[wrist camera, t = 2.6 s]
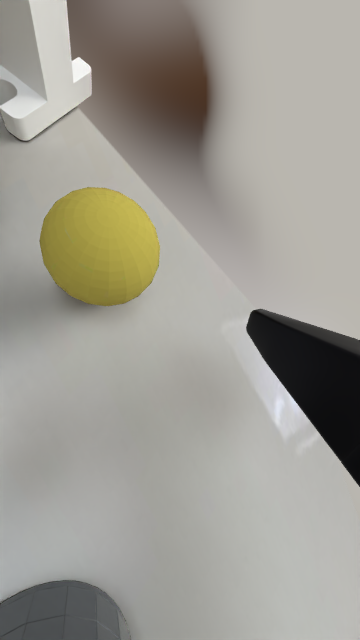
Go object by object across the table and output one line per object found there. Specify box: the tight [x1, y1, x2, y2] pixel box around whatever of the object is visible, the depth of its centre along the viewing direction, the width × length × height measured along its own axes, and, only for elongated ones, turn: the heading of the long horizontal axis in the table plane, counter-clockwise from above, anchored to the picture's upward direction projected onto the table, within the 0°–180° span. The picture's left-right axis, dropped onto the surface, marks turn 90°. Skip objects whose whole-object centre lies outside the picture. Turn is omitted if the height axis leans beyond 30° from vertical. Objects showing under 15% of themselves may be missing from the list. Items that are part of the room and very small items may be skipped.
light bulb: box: [40, 187, 160, 306], centre depth 15 cm, size 7×7×10 cm
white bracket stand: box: [0, 0, 92, 141], centre depth 17 cm, size 5×10×10 cm, turn 149°
